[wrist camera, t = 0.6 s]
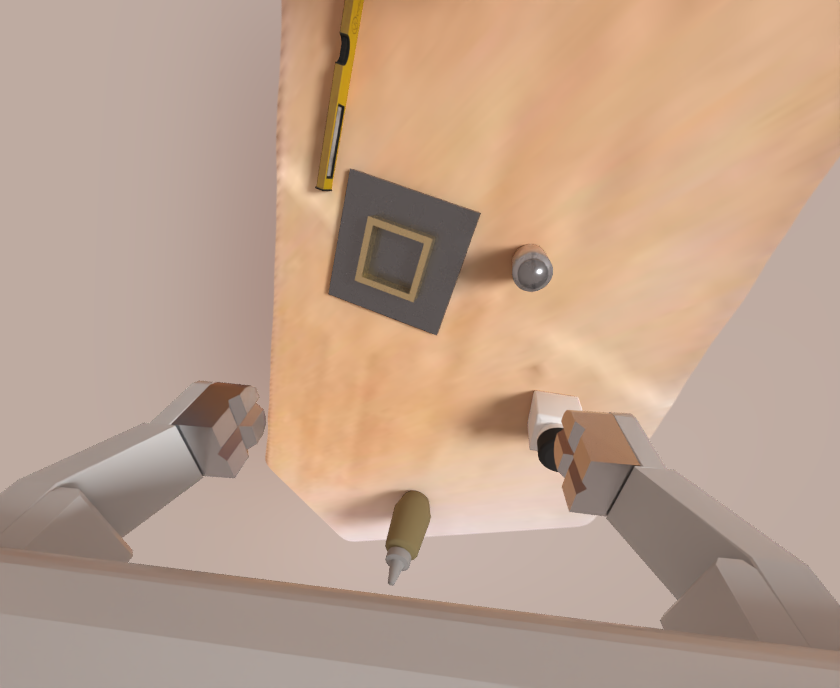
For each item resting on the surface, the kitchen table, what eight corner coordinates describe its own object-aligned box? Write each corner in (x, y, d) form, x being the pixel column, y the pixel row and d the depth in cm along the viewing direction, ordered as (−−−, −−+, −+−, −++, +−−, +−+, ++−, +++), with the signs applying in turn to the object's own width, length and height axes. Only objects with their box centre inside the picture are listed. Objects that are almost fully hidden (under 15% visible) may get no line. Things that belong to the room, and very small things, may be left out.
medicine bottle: (527, 423, 60) (530, 472, 50) (534, 389, 57) (539, 434, 47) (569, 430, 59) (582, 483, 48) (578, 396, 56) (594, 444, 45)
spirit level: (377, -133, 37) (366, -158, 34) (388, -129, 37) (378, -154, 34) (324, 188, 52) (314, 187, 50) (332, 191, 52) (323, 191, 50)
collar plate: (353, 169, 50) (342, 167, 47) (480, 213, 48) (478, 214, 45) (331, 292, 59) (321, 298, 56) (437, 333, 57) (433, 341, 54)
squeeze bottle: (394, 503, 77) (364, 584, 61) (405, 480, 73) (376, 561, 57) (426, 518, 77) (405, 604, 61) (439, 496, 73) (419, 582, 57)
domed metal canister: (520, 239, 48) (522, 248, 40) (552, 250, 48) (561, 262, 40) (506, 270, 51) (506, 285, 43) (537, 281, 50) (542, 299, 42)
